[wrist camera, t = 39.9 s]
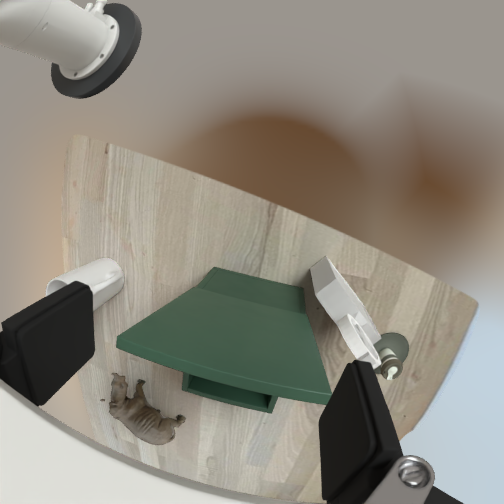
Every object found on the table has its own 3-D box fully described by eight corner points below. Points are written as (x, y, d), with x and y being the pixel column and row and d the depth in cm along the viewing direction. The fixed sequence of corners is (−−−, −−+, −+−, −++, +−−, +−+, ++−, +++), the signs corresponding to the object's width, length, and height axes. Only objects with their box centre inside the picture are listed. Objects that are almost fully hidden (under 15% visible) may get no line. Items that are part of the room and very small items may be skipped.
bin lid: (328, 405, 14) (332, 394, 14) (115, 348, 15) (116, 336, 15) (305, 321, 31) (307, 314, 31) (192, 293, 32) (193, 286, 32)
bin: (275, 376, 44) (271, 413, 35) (199, 356, 44) (181, 390, 36) (303, 288, 40) (306, 316, 31) (214, 266, 41) (194, 288, 32)
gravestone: (349, 317, 40) (378, 400, 22) (309, 268, 39) (322, 335, 21) (364, 305, 39) (403, 383, 22) (326, 255, 38) (351, 315, 21)
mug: (102, 299, 45) (59, 329, 33) (87, 262, 43) (39, 285, 32) (148, 285, 43) (106, 318, 31) (132, 243, 41) (83, 265, 30)
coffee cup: (426, 320, 38) (439, 335, 34) (407, 381, 41) (415, 399, 36) (355, 319, 40) (362, 336, 35) (341, 384, 43) (345, 403, 38)
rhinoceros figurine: (168, 444, 48) (114, 457, 35) (143, 386, 55) (88, 387, 42) (195, 433, 47) (141, 449, 34) (167, 372, 54) (111, 371, 41)
